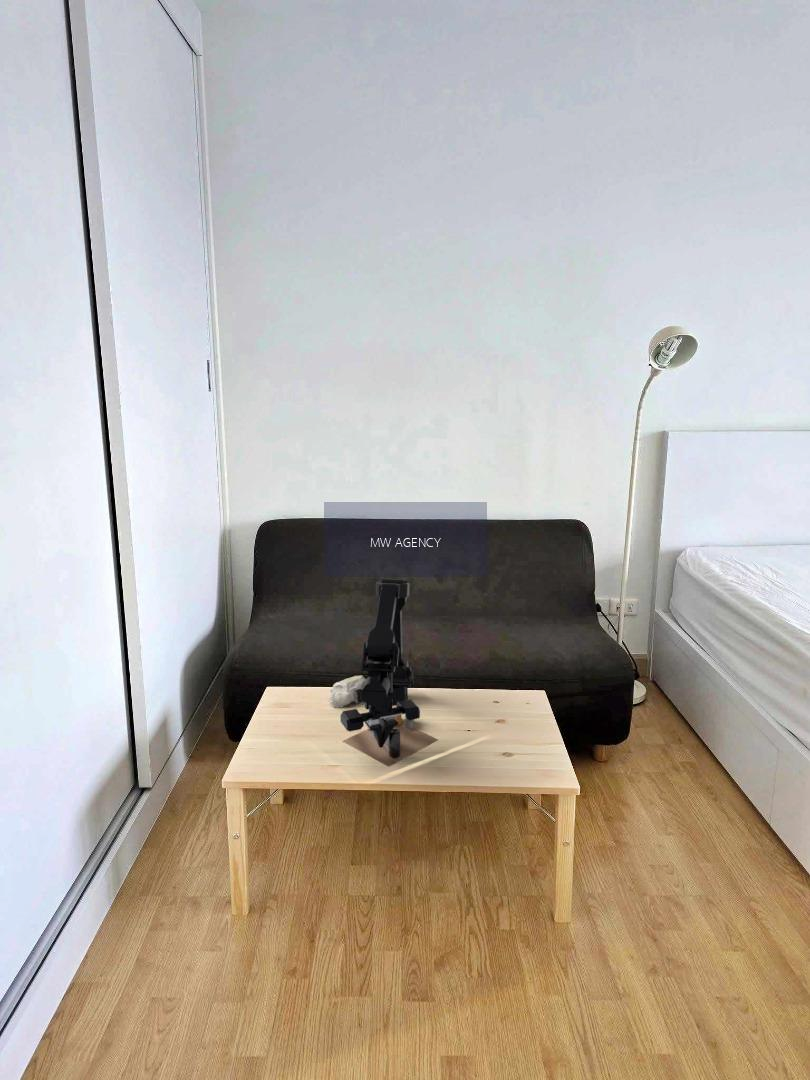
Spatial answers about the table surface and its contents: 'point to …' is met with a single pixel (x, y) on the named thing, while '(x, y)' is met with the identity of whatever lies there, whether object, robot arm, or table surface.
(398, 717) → the block
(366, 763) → the table surface
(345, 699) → the fossil replica
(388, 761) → the press bench
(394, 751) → the lever
